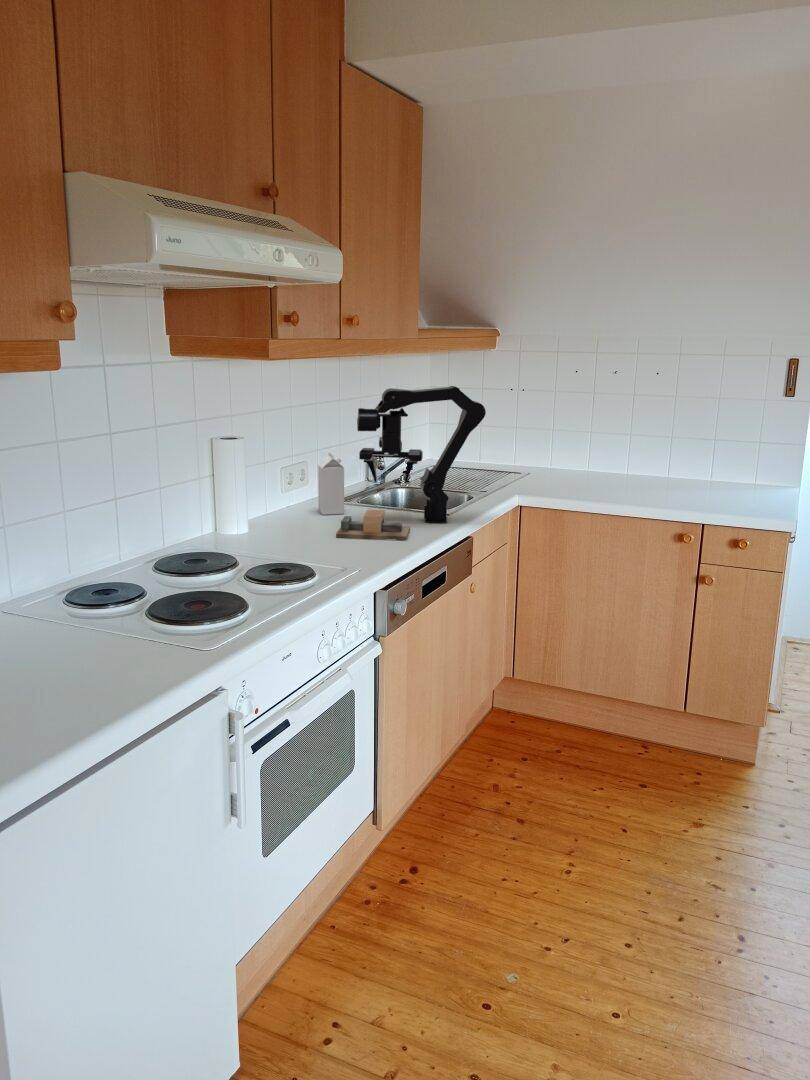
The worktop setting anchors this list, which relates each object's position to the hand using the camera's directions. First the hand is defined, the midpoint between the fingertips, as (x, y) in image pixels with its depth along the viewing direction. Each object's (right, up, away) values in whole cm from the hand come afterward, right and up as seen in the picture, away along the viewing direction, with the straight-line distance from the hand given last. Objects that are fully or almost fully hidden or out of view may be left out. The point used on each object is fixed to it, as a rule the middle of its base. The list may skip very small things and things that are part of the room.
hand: (390, 482), depth 255 cm
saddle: (-5, -15, -13) cm, 20 cm away
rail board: (-5, -16, -13) cm, 21 cm away
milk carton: (-19, -9, +13) cm, 25 cm away
